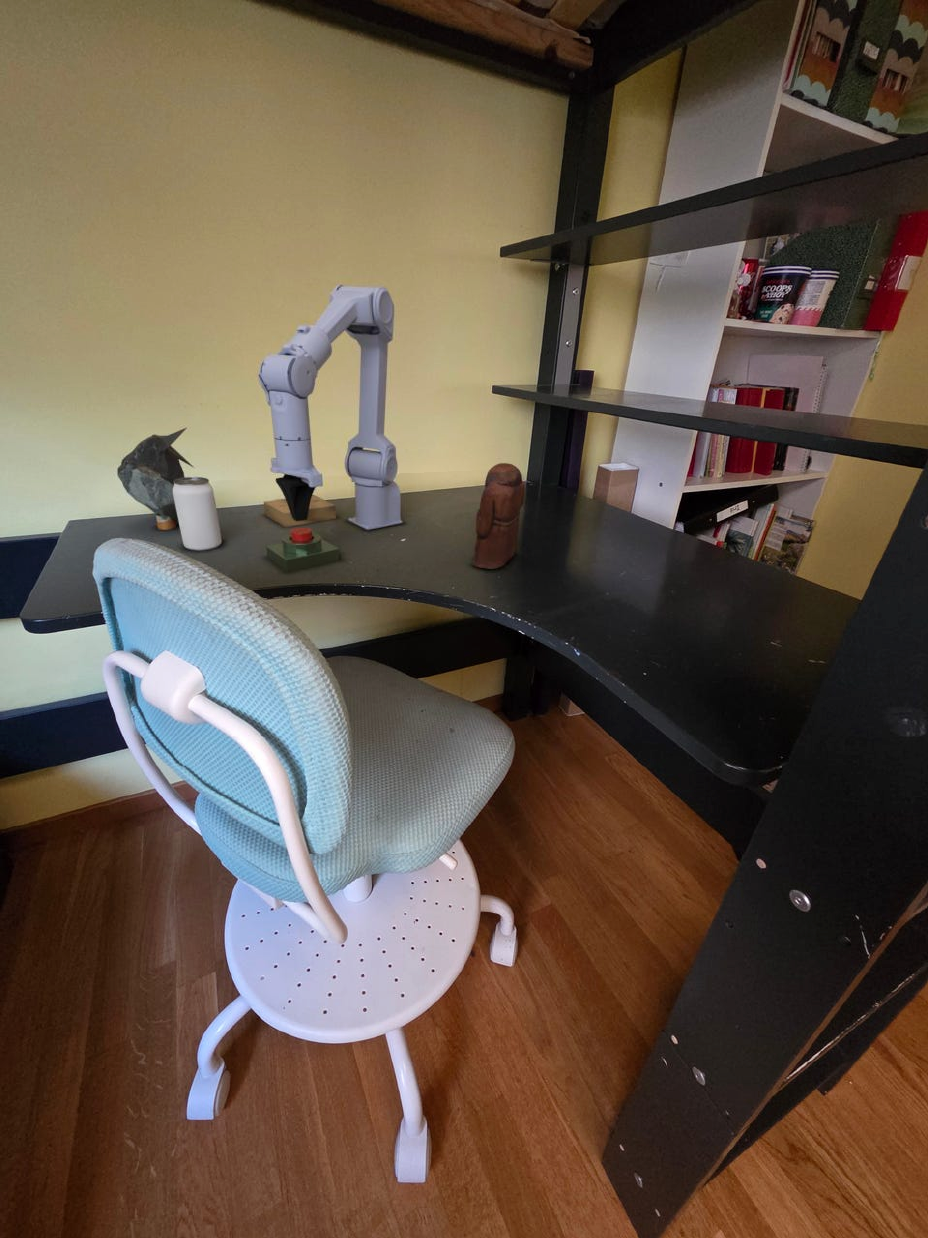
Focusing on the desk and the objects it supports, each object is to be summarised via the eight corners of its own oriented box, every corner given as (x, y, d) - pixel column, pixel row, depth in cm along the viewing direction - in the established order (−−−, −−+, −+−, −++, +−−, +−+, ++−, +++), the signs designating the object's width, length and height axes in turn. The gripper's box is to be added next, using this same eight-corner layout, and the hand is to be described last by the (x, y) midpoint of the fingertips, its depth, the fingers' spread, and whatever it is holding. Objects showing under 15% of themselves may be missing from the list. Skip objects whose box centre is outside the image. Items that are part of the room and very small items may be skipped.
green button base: (318, 547, 98) (316, 526, 96) (339, 560, 93) (338, 539, 91) (267, 557, 92) (264, 536, 90) (287, 572, 87) (285, 550, 85)
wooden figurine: (490, 547, 104) (498, 456, 95) (519, 554, 101) (531, 461, 93) (466, 566, 94) (473, 467, 86) (498, 574, 92) (509, 472, 83)
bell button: (306, 535, 93) (305, 526, 92) (316, 541, 91) (315, 531, 90) (287, 538, 91) (286, 529, 90) (297, 544, 89) (296, 535, 88)
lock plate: (314, 507, 121) (313, 493, 119) (336, 518, 114) (335, 504, 113) (265, 514, 113) (263, 500, 112) (285, 527, 107) (283, 512, 106)
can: (207, 553, 92) (195, 486, 86) (175, 548, 93) (161, 482, 87) (229, 541, 98) (219, 478, 92) (199, 537, 99) (187, 474, 93)
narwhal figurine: (110, 527, 100) (84, 431, 92) (174, 508, 113) (156, 422, 105) (166, 540, 96) (144, 440, 88) (226, 519, 109) (212, 430, 101)
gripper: (249, 432, 85) (260, 512, 91) (289, 447, 76) (297, 535, 82) (290, 430, 89) (297, 506, 96) (332, 444, 80) (337, 527, 86)
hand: (300, 519), depth 89 cm, fingers closed
